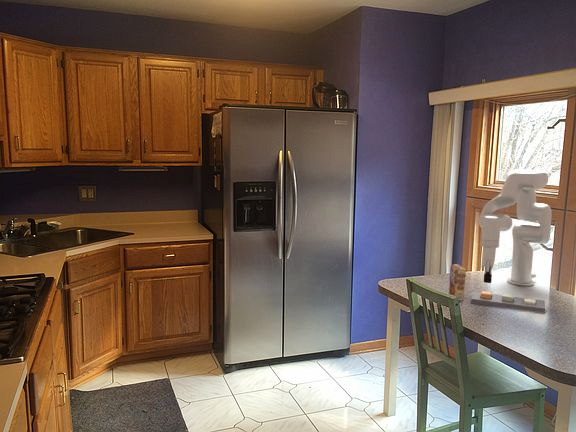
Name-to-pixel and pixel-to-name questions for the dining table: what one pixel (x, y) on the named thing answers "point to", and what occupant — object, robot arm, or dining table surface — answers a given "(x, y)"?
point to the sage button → (507, 297)
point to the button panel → (516, 304)
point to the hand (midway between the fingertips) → (487, 282)
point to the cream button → (529, 301)
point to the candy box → (457, 281)
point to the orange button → (486, 294)
